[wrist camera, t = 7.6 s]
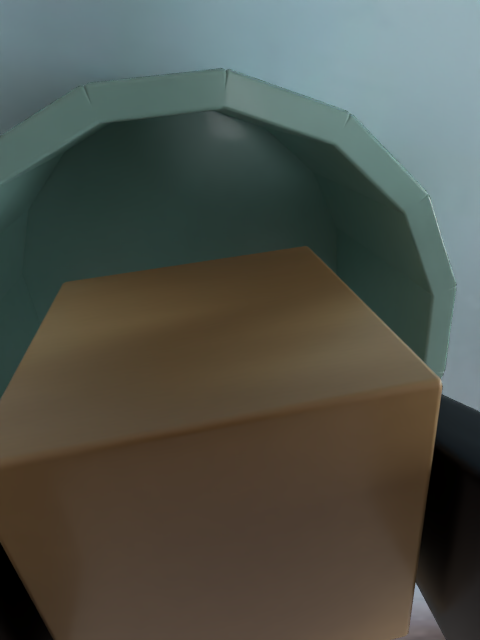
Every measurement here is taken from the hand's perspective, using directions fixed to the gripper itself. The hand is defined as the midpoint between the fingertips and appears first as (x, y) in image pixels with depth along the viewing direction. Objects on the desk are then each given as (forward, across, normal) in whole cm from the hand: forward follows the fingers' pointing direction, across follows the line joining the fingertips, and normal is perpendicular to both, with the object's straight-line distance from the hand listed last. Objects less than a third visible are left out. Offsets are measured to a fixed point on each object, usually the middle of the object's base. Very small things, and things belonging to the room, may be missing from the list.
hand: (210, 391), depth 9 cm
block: (+1, 0, 0) cm, 1 cm away
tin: (+7, 0, 0) cm, 7 cm away
